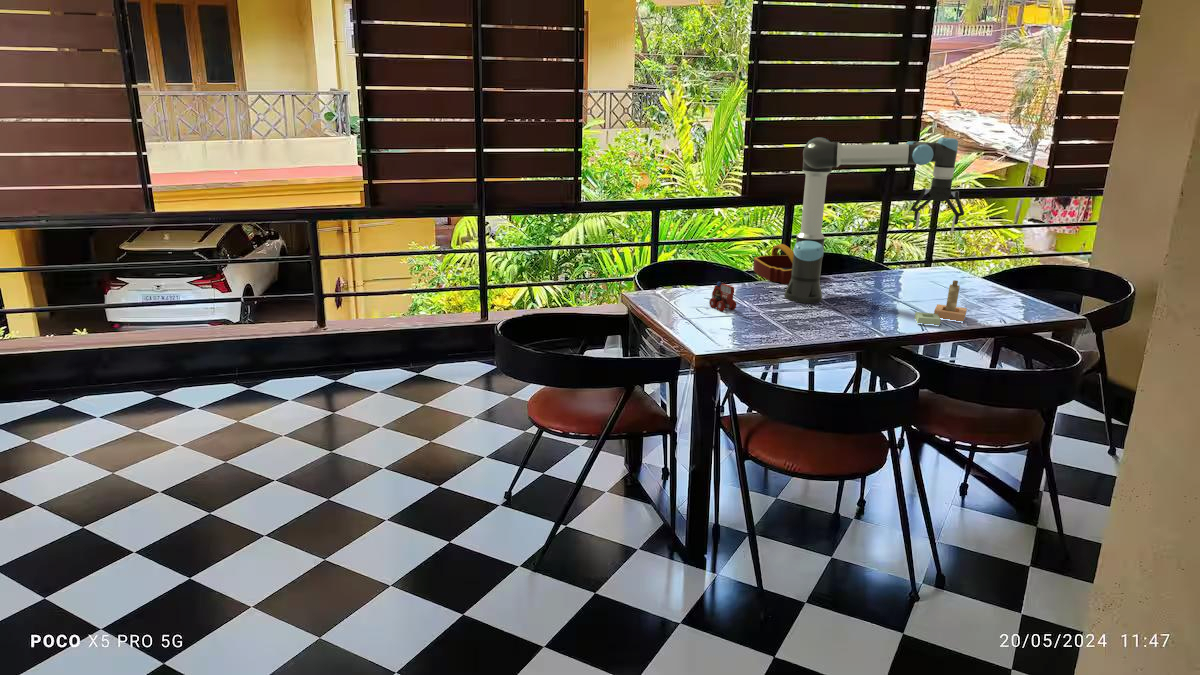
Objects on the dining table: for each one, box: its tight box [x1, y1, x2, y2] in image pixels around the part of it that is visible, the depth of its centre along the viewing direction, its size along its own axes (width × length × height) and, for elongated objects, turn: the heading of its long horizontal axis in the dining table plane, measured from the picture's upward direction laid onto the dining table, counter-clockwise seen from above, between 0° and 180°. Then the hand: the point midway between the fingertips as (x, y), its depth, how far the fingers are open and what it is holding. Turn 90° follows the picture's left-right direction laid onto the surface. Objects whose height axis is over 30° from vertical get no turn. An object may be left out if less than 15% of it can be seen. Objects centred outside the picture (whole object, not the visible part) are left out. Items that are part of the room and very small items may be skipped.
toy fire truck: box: [709, 281, 737, 312], centre depth 331 cm, size 7×12×10 cm, turn 27°
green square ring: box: [914, 311, 942, 325], centre depth 323 cm, size 8×8×3 cm
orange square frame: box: [933, 304, 968, 322], centre depth 331 cm, size 11×11×4 cm
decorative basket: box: [753, 243, 794, 285], centre depth 389 cm, size 34×29×15 cm
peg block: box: [945, 279, 960, 312], centre depth 329 cm, size 4×4×15 cm
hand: (934, 230), depth 343 cm, fingers open, 13 cm apart
